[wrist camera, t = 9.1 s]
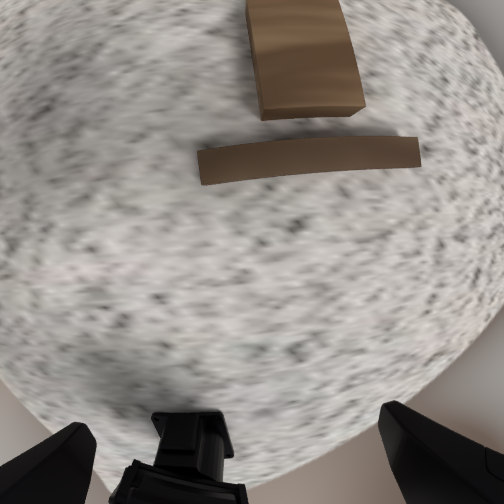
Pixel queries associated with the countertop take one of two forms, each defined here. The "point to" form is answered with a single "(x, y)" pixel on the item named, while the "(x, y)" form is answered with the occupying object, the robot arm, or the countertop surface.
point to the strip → (306, 157)
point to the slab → (303, 59)
